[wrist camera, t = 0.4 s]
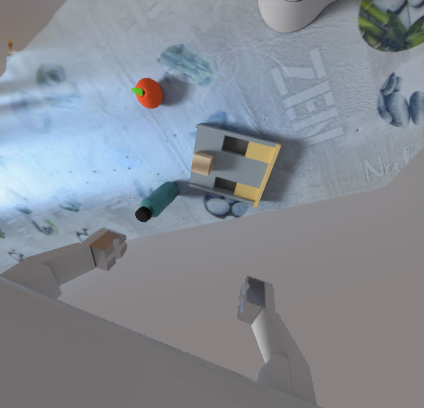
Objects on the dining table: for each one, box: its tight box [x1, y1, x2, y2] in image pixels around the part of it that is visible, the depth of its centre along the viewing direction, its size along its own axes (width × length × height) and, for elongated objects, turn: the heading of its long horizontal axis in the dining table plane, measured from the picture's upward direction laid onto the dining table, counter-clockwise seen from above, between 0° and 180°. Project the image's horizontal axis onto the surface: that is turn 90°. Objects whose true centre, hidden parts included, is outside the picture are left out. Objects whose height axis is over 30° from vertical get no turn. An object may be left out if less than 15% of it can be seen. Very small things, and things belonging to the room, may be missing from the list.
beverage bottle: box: [135, 182, 179, 222], centre depth 53 cm, size 6×7×20 cm
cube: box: [191, 151, 215, 176], centre depth 49 cm, size 5×5×5 cm
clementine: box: [131, 78, 163, 109], centre depth 46 cm, size 8×7×7 cm
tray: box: [189, 123, 281, 208], centre depth 51 cm, size 23×19×5 cm
